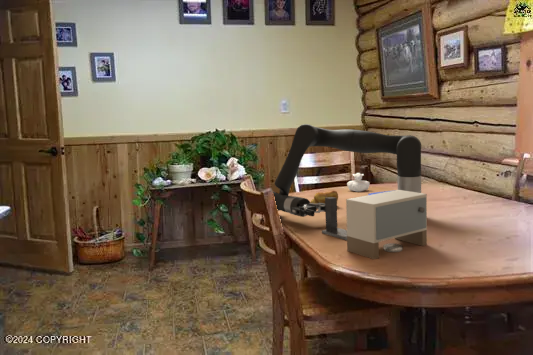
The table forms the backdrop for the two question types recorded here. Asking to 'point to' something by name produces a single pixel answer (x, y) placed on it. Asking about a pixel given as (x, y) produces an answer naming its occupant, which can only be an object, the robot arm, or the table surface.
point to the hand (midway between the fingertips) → (322, 211)
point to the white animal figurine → (358, 183)
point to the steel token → (392, 247)
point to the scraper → (333, 219)
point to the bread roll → (323, 197)
